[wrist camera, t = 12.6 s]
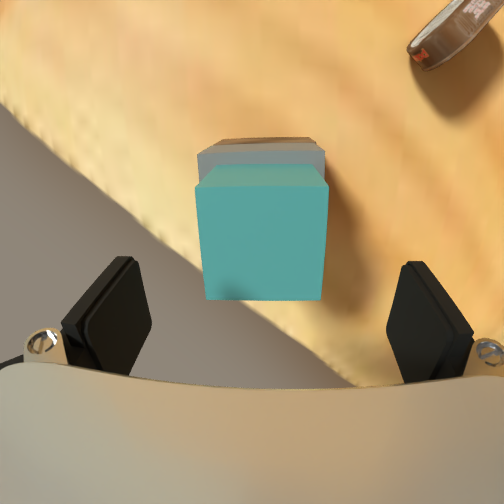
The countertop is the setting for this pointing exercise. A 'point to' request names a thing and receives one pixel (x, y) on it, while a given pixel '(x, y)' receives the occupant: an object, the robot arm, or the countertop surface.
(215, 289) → the teal cube
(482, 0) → the tin
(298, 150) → the block
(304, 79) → the countertop surface
